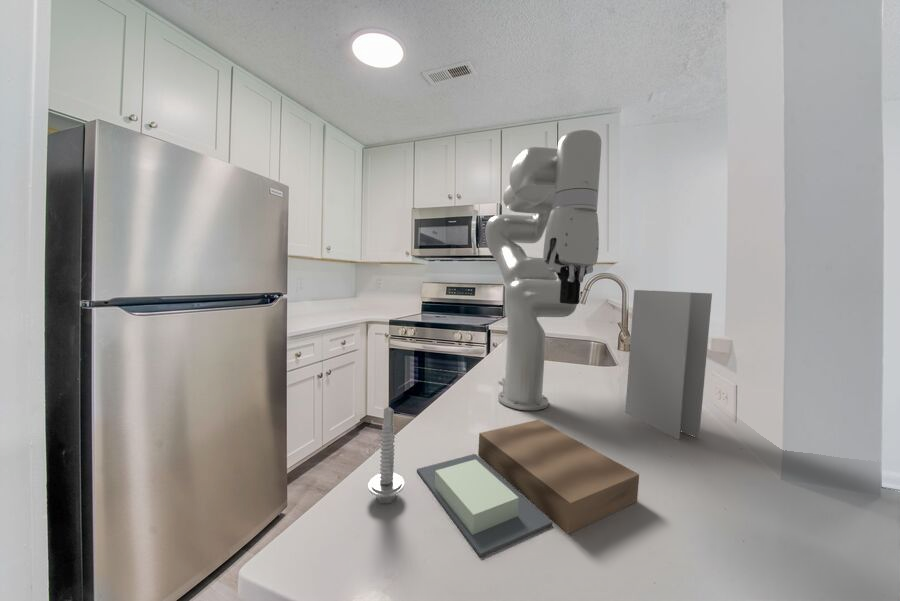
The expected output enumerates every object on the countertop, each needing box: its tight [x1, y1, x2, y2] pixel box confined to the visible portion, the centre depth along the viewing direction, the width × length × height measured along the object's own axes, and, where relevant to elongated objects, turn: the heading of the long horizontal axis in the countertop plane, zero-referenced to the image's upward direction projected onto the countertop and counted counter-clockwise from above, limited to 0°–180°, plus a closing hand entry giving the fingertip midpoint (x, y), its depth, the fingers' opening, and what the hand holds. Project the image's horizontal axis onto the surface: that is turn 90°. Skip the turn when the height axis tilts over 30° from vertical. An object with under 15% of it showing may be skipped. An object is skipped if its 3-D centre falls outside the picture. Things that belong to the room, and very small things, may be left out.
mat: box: [416, 453, 553, 558], centre depth 47 cm, size 18×11×1 cm, turn 29°
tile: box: [435, 459, 519, 535], centre depth 45 cm, size 10×7×2 cm
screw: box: [368, 406, 405, 505], centre depth 45 cm, size 13×5×5 cm
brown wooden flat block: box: [477, 419, 640, 535], centre depth 52 cm, size 20×14×4 cm
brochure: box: [624, 289, 713, 441], centre depth 73 cm, size 14×6×30 cm, turn 14°
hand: (569, 303), depth 62 cm, fingers closed
